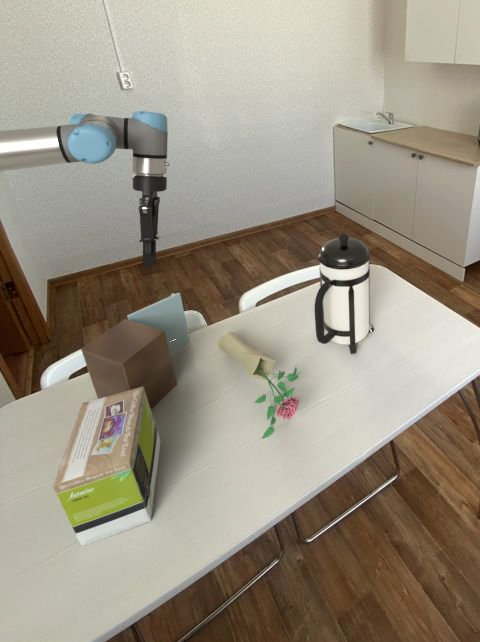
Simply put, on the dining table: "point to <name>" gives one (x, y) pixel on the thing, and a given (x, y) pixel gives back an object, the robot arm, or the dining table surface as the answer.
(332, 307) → the coffee press
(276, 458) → the dining table surface
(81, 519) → the tea box
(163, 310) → the door
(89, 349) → the cabinet
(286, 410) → the flower vase
